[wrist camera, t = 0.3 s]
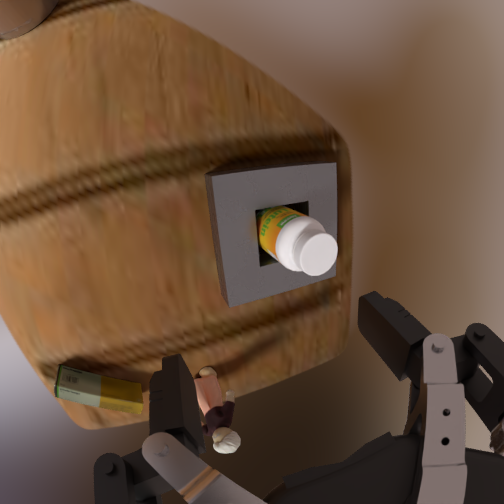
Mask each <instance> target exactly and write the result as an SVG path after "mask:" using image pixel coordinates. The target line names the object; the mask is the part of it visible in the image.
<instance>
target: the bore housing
mask: <svg viewBox="0 0 504 504" xmlns="http://www.w3.org/2000/svg"><path fill="white" fill-rule="evenodd" d="M205 181H206V189H207V197H208V205H209V212H210V220H211V227H212V234H213V241H214V248H215V255H216V262H217V269H218V275H219V282H220V288H221V294H222V296H223V298H224V300H225V301H226V303H227V305H228V306H229V308H230V307H233V306H237V305H240V304H244V303H248V302H251V301H255V300H258V299H262V298H265V297H268V296H272V295H275V294H279V293H282V292H285V291H289V290H292V289H295V288H299V287H302V286H305V285H308V284H311V283H315V282H318V281H321V280H324V279H327V278H330V277H333V276H336V260H335V262H334V264H333V265H332V267H331V268H330V269H329V270H328V271H327V272H325V273H323V274H321V275H318V276H311V275H308V274H306V273H305V272H303V271H293V270H290V269H288V268H286V267H285V266H283V265H282V264H281V263H280V262H279V261H277V260H276V259H275V258H274V257H272V256H271V255H270V254H269V253H265V254H261V255H259V252H258V240H257V228H256V216H255V210H257V209H263V208H269V207H275V206H280V205H286V204H292V203H295V211H297V212H300V213H302V214H304V215H307V216H309V217H311V218H313V219H315V220H317V221H318V222H319V223H320V224H321V225H322V226H323V227H324V229H325V232H326V233H328V234H330V235H331V236H332V237H333V238H334V239H335V241H336V243H337V171H336V163H335V162H327V161H311V162H299V163H288V164H278V165H268V166H259V167H251V168H243V169H236V170H228V171H221V172H215V173H208V174H205Z"/></svg>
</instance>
